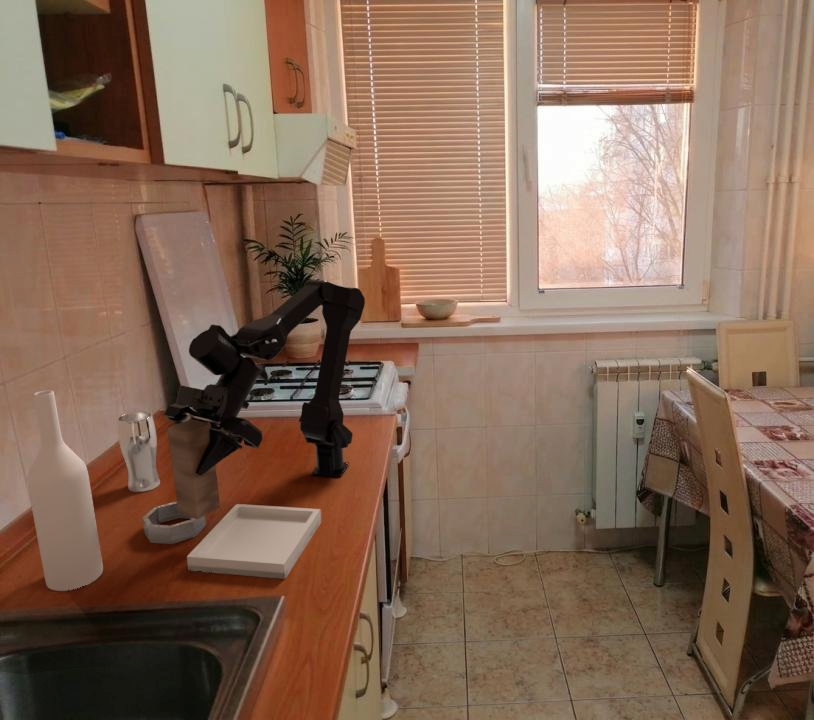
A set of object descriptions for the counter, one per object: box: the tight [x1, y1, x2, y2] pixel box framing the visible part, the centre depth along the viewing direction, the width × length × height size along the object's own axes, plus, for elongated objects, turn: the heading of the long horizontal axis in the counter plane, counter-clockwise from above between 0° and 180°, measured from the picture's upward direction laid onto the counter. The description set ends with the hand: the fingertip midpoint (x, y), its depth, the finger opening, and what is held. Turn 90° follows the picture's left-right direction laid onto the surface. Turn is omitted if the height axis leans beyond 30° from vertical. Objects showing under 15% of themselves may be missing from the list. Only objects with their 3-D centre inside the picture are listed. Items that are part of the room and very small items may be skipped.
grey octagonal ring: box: [142, 500, 207, 545], centre depth 115 cm, size 10×10×3 cm
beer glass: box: [116, 410, 161, 493], centre depth 132 cm, size 7×7×15 cm
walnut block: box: [166, 419, 221, 520], centre depth 108 cm, size 5×5×15 cm
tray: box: [186, 503, 322, 580], centre depth 109 cm, size 18×16×2 cm
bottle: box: [26, 389, 104, 592], centre depth 98 cm, size 8×8×30 cm
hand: (187, 471), depth 107 cm, fingers closed on walnut block, 5 cm apart
